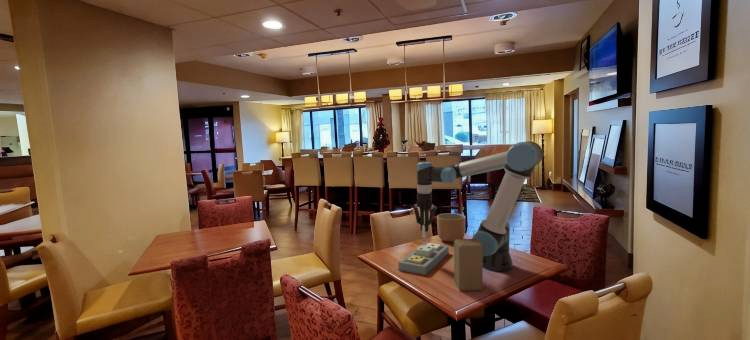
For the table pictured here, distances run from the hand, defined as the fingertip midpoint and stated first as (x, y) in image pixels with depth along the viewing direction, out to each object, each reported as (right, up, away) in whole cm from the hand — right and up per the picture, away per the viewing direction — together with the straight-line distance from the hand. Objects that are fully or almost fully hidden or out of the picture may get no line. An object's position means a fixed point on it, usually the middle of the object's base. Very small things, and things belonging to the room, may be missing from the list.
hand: (424, 237), depth 187 cm
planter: (+21, -9, +35) cm, 42 cm away
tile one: (+6, -10, +11) cm, 16 cm away
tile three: (-5, -13, -8) cm, 16 cm away
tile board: (+1, -13, +1) cm, 13 cm away
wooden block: (+15, -16, -30) cm, 37 cm away
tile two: (0, -10, +1) cm, 10 cm away
